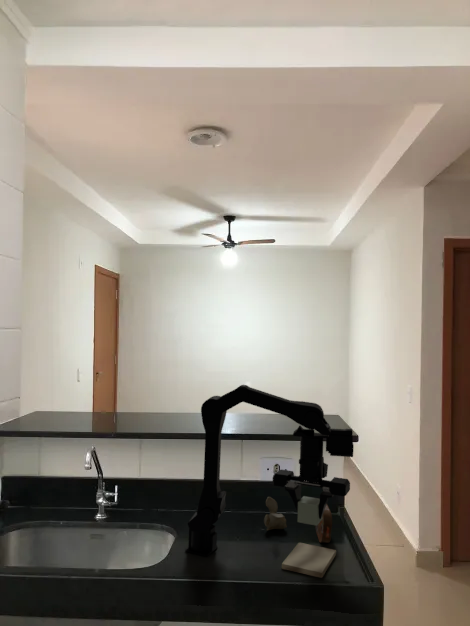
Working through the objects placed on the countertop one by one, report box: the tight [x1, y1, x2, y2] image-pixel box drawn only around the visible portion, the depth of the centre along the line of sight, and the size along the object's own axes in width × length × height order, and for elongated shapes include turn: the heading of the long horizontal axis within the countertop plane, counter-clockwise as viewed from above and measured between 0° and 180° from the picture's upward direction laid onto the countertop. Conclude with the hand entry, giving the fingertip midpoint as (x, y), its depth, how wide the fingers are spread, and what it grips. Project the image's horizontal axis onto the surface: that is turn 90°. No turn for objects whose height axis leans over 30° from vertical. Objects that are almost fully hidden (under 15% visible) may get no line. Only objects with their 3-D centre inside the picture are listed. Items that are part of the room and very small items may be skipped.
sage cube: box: [296, 495, 322, 526], centre depth 135 cm, size 5×5×5 cm
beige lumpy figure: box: [263, 496, 287, 531], centre depth 156 cm, size 9×6×10 cm
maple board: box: [281, 542, 337, 579], centre depth 135 cm, size 10×14×1 cm
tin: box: [314, 503, 333, 544], centre depth 151 cm, size 15×3×8 cm, turn 178°
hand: (310, 516), depth 135 cm, fingers closed on sage cube, 5 cm apart
